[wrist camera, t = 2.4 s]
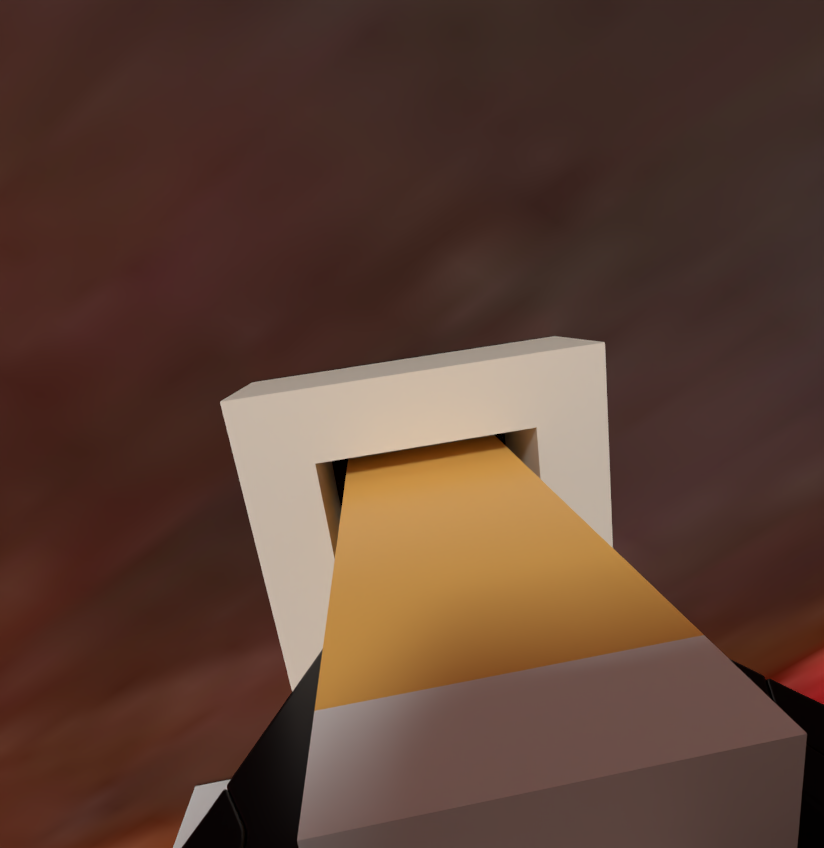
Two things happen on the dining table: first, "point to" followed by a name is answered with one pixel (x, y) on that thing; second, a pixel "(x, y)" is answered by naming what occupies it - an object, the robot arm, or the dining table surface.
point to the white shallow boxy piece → (401, 429)
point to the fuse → (523, 681)
